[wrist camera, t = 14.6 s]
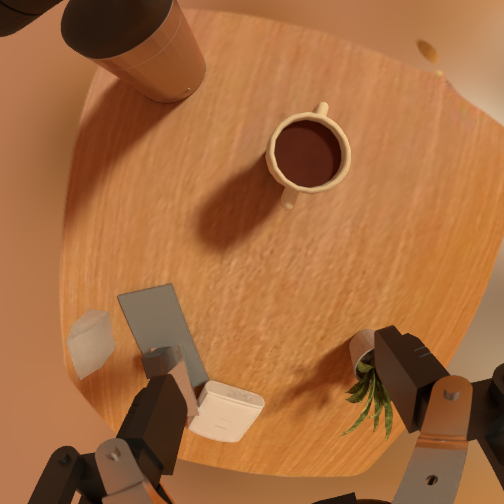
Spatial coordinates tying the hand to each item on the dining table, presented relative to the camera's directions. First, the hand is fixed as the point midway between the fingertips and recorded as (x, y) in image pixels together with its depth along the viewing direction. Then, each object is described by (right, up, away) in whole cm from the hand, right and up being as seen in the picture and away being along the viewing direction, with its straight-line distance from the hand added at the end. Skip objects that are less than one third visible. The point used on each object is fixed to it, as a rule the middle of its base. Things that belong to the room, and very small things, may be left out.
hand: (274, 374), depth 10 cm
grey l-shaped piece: (-13, -15, +31) cm, 37 cm away
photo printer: (-3, -17, +31) cm, 36 cm away
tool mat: (-14, -9, +32) cm, 36 cm away
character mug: (+4, +16, +25) cm, 30 cm away
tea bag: (-25, -8, +32) cm, 41 cm away
